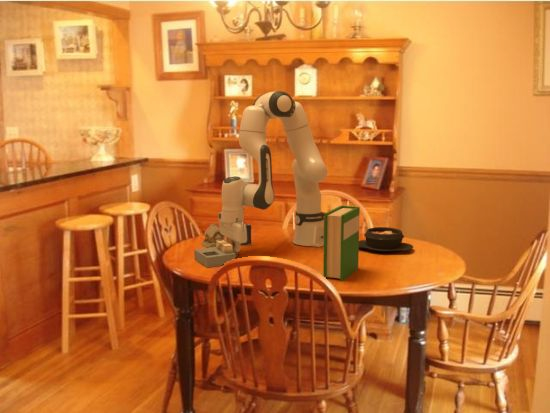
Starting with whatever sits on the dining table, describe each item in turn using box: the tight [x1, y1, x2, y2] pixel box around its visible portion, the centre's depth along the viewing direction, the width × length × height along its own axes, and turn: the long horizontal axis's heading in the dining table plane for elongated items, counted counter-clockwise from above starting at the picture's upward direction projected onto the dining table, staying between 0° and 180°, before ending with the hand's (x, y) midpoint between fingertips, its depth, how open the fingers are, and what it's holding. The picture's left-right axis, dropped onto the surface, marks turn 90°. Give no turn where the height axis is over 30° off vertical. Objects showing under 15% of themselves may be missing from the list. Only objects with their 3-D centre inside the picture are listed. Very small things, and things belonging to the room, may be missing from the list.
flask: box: [240, 222, 252, 246], centre depth 258 cm, size 9×3×11 cm, turn 109°
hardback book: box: [322, 205, 361, 282], centre depth 213 cm, size 18×7×24 cm, turn 154°
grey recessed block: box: [193, 247, 236, 269], centre depth 231 cm, size 12×14×4 cm
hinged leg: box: [216, 239, 233, 253], centre depth 233 cm, size 11×3×3 cm, turn 26°
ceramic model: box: [201, 222, 226, 248], centre depth 257 cm, size 14×11×10 cm
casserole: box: [359, 226, 414, 254], centre depth 248 cm, size 25×19×8 cm
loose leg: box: [229, 238, 239, 257], centre depth 239 cm, size 4×4×8 cm
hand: (233, 249), depth 239 cm, fingers open, 6 cm apart
